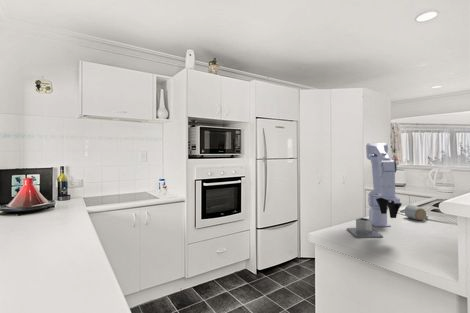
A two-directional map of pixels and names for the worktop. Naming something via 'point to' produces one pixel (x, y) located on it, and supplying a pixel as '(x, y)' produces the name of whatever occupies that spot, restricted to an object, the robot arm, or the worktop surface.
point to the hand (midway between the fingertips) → (388, 215)
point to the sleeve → (364, 225)
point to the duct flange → (361, 235)
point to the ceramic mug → (415, 212)
